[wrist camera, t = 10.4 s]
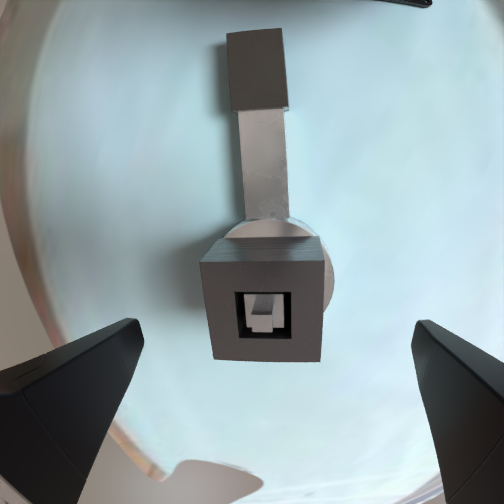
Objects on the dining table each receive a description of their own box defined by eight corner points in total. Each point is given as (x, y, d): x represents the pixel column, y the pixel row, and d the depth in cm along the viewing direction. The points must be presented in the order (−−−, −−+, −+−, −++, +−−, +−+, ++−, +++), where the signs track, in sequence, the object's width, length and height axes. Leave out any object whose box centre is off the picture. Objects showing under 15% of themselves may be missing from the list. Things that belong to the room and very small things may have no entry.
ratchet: (321, 37, 15) (330, -8, 9) (329, 321, 22) (337, 382, 16) (196, 48, 17) (155, 13, 11) (220, 321, 23) (196, 378, 17)
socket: (319, 236, 18) (324, 260, 14) (317, 324, 20) (320, 361, 16) (218, 238, 19) (199, 261, 15) (227, 323, 21) (213, 359, 17)
